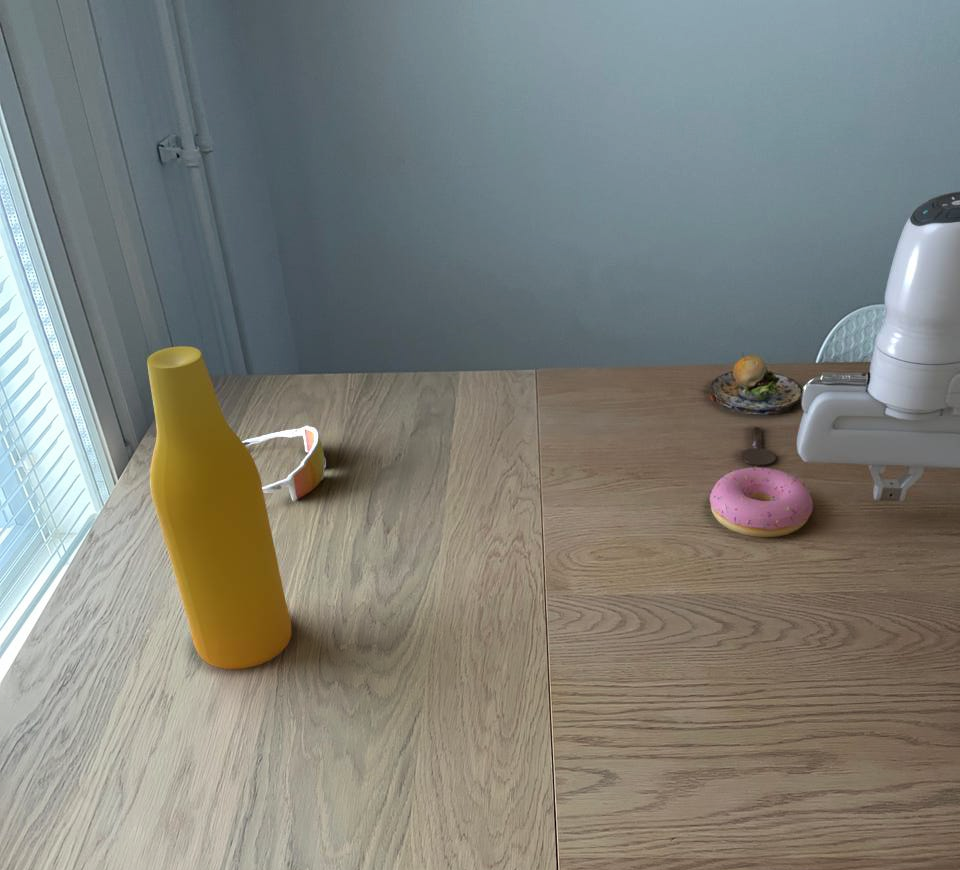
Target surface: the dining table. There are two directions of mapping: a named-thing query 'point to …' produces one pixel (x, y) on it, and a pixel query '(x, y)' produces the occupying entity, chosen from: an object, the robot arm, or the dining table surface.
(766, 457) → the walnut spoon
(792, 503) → the doughnut
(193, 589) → the beer bottle
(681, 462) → the dining table surface
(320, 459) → the sunglasses
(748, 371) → the burger
